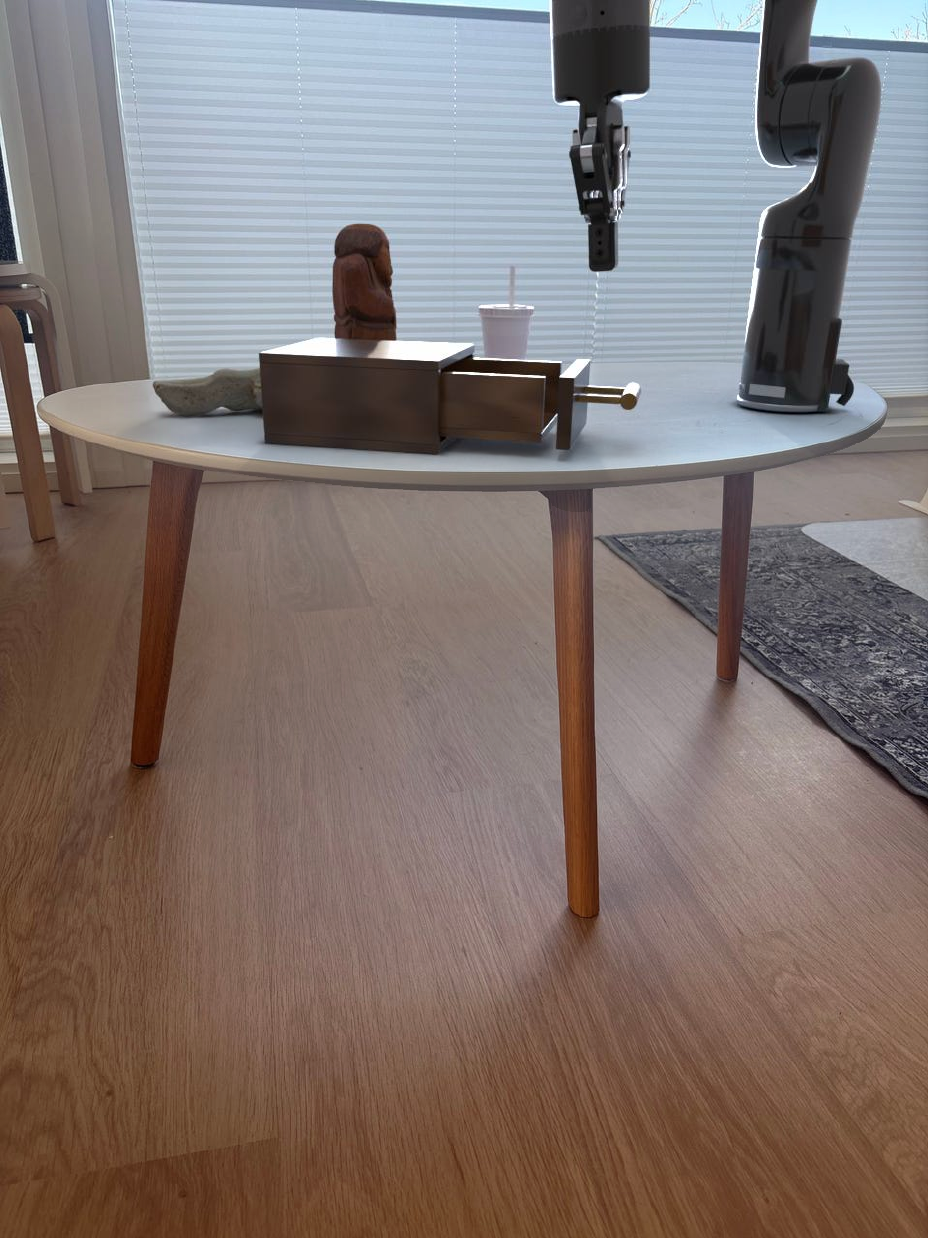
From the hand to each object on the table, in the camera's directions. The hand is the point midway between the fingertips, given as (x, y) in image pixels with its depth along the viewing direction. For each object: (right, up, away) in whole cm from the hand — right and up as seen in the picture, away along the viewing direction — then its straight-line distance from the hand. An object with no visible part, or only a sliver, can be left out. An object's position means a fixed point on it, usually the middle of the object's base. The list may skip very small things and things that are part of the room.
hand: (603, 270), depth 78 cm
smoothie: (-7, -3, +30) cm, 31 cm away
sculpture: (-35, -9, +16) cm, 40 cm away
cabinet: (-20, -12, +7) cm, 25 cm away
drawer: (-6, -13, +4) cm, 15 cm away
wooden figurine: (-23, -5, +26) cm, 35 cm away
